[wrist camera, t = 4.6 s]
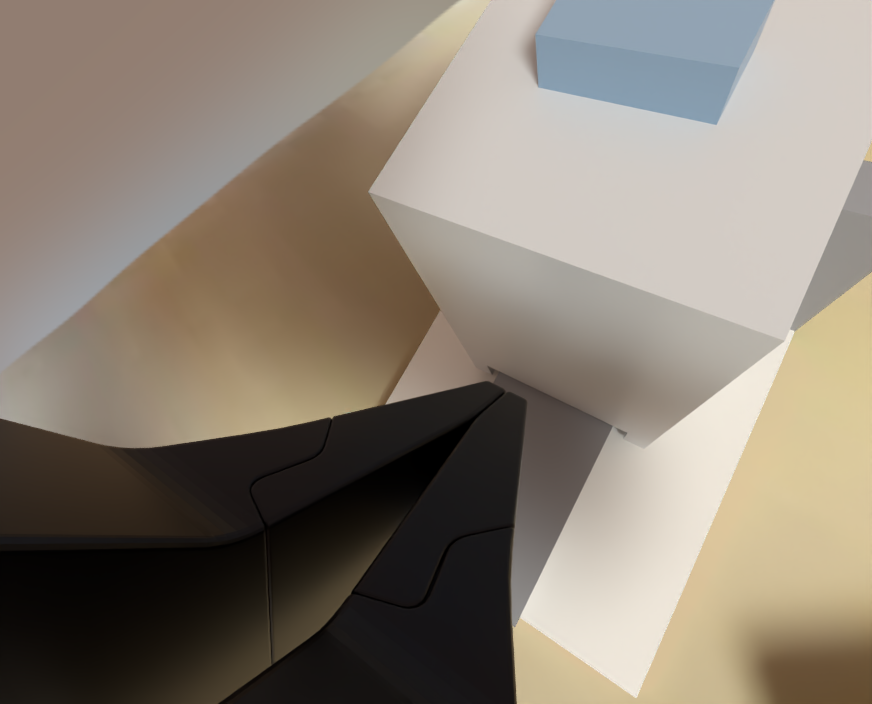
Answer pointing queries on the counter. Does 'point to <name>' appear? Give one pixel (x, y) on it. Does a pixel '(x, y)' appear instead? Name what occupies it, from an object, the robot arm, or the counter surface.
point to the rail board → (628, 483)
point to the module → (633, 190)
